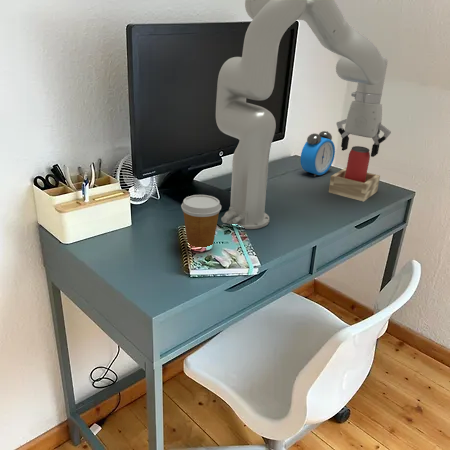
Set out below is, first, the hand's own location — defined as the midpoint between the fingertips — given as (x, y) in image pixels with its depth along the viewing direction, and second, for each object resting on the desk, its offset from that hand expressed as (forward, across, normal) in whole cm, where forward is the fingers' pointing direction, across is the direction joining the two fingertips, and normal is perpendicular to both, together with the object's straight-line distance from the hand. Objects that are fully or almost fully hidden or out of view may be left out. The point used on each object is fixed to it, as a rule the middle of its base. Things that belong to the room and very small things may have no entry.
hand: (358, 152), depth 158 cm
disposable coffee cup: (+15, -14, -63) cm, 67 cm away
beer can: (+11, 0, 0) cm, 11 cm away
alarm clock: (+14, -18, +10) cm, 24 cm away
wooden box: (+14, 0, +1) cm, 14 cm away
